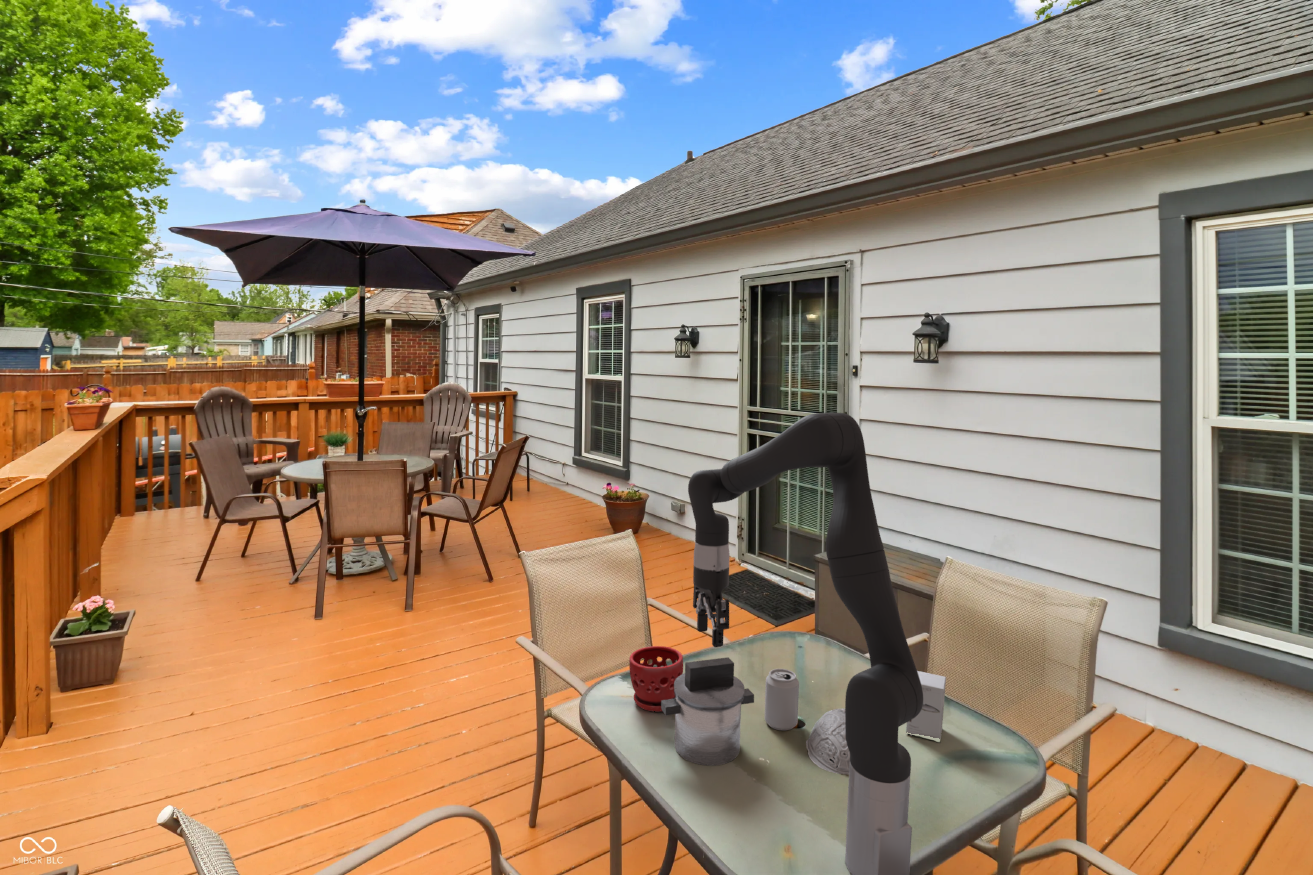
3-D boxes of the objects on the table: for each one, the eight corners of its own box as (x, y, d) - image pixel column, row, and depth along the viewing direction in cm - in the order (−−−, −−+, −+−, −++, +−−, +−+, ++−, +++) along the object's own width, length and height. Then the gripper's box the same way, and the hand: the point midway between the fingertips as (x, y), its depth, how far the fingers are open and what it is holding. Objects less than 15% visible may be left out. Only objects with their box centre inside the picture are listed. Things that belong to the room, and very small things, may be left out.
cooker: (764, 756, 134) (766, 701, 133) (673, 772, 128) (674, 715, 127) (736, 722, 147) (737, 672, 146) (652, 735, 141) (653, 683, 140)
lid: (688, 714, 127) (689, 682, 127) (664, 681, 142) (665, 652, 141) (756, 704, 132) (757, 673, 131) (726, 673, 146) (727, 645, 146)
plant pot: (660, 685, 165) (661, 640, 164) (693, 706, 155) (694, 658, 154) (618, 699, 157) (619, 652, 156) (650, 722, 147) (651, 672, 146)
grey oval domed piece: (801, 766, 130) (806, 735, 130) (811, 714, 154) (815, 687, 154) (880, 790, 126) (886, 758, 125) (878, 732, 149) (882, 705, 149)
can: (797, 734, 143) (799, 682, 142) (763, 730, 145) (765, 678, 144) (797, 717, 150) (799, 668, 150) (764, 713, 152) (766, 664, 151)
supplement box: (905, 735, 144) (908, 680, 143) (909, 720, 150) (911, 668, 149) (940, 744, 140) (944, 688, 139) (943, 728, 147) (946, 675, 146)
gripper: (683, 556, 140) (681, 628, 141) (707, 574, 127) (705, 653, 128) (714, 554, 143) (713, 624, 144) (742, 571, 129) (740, 649, 130)
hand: (709, 638), depth 136 cm, fingers open, 8 cm apart
